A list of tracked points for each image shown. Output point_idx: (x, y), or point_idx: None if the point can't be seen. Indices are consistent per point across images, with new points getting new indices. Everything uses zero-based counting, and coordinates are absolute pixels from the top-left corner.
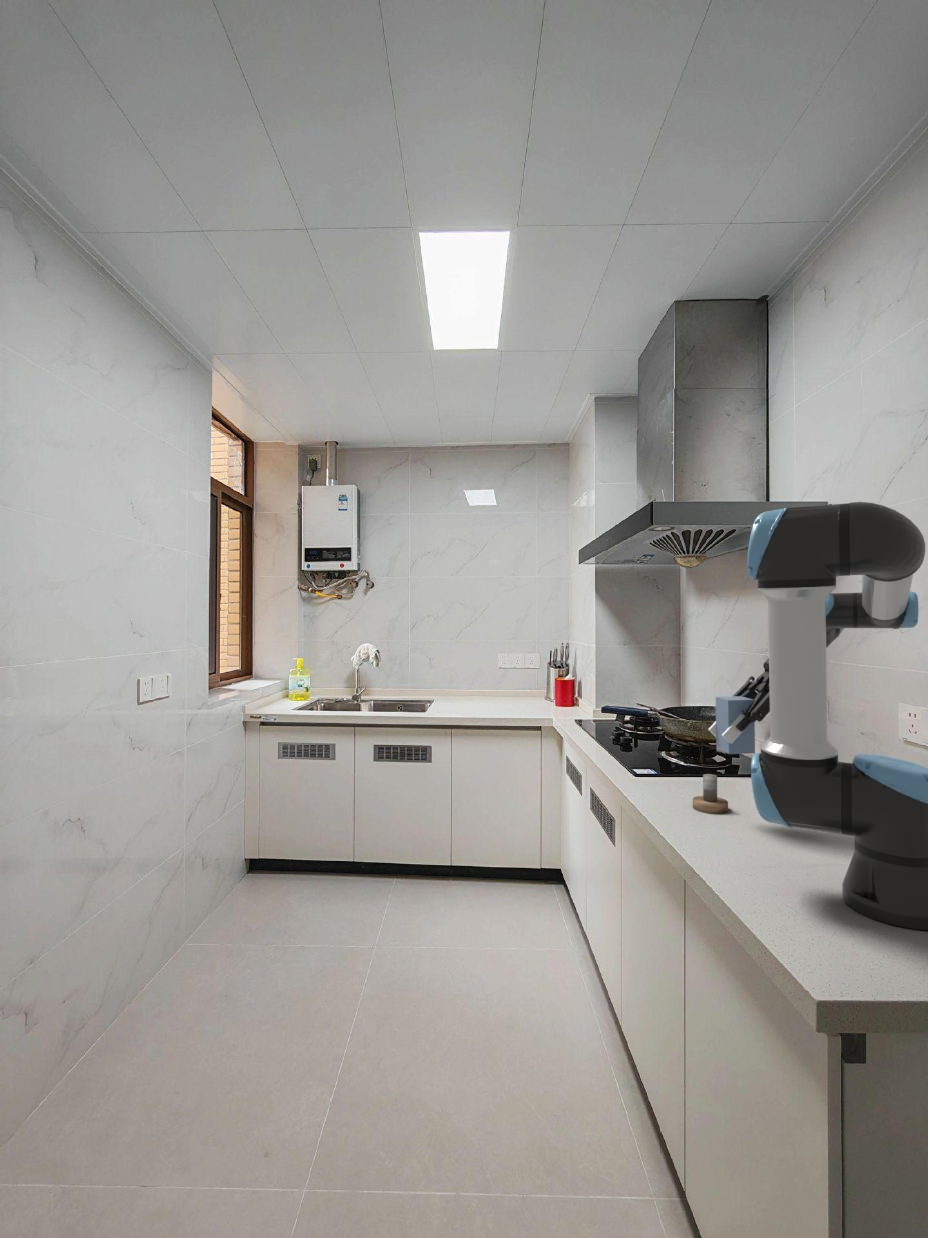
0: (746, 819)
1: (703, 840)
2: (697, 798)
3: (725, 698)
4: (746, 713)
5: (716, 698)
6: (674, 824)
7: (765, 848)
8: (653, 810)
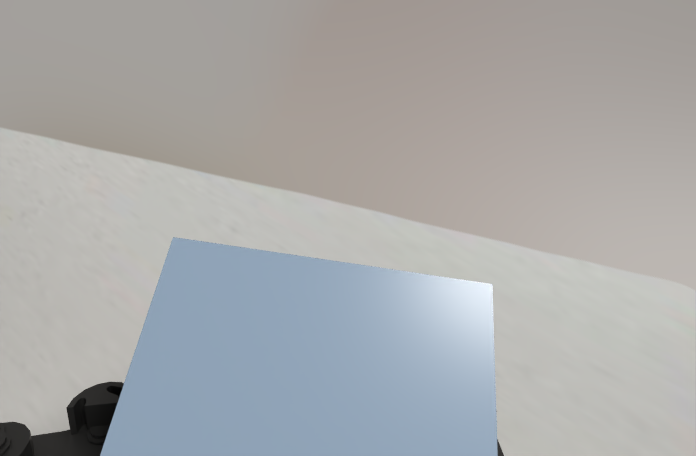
0: None
1: (217, 236)
2: None
3: (330, 308)
4: (84, 409)
5: (465, 284)
6: (326, 234)
7: (122, 339)
8: (430, 241)
